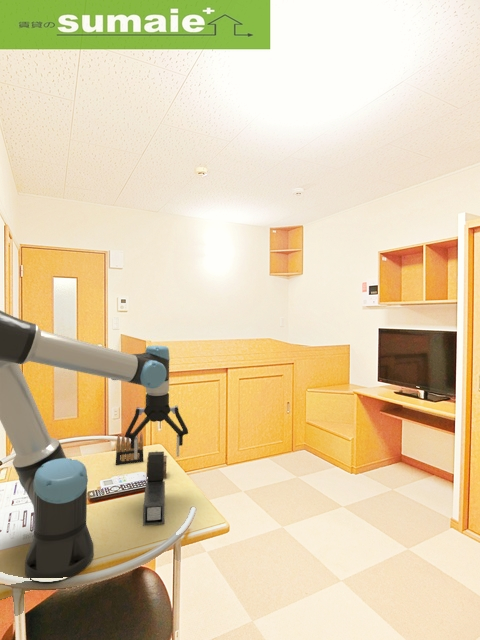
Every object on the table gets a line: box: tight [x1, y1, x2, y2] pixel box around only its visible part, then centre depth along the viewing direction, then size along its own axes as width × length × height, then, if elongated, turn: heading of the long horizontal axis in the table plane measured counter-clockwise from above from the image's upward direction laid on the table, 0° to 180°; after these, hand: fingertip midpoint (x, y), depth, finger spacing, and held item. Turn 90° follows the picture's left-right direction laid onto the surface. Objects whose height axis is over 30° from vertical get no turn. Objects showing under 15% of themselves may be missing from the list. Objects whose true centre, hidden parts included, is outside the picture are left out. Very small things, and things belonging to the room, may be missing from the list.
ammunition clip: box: [115, 431, 144, 466], centre depth 149 cm, size 11×2×12 cm, turn 111°
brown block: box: [146, 455, 168, 479], centre depth 138 cm, size 5×7×6 cm
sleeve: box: [142, 480, 166, 527], centre depth 114 cm, size 14×6×6 cm, turn 11°
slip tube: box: [147, 451, 165, 521], centre depth 118 cm, size 22×5×14 cm, turn 11°
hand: (157, 456), depth 122 cm, fingers open, 13 cm apart
